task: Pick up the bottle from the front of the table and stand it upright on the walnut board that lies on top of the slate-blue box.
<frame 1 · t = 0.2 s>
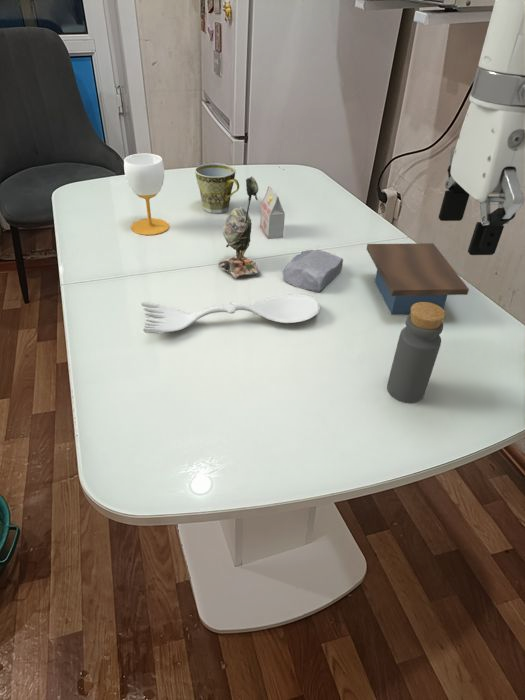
hand: (464, 235, 65), 26 cm above the table, tool pointing down, fingers open, 9 cm apart
bottle: (405, 391, 80), on the table
board: (413, 270, 98), resting on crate
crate: (406, 296, 102), on the table
cup: (150, 227, 123), on the table
spoon: (233, 321, 93), on the table
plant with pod: (238, 267, 109), on the table
ceramic cup: (220, 210, 132), on the table
milk carton: (271, 232, 123), on the table
stone block: (310, 276, 107), on the table
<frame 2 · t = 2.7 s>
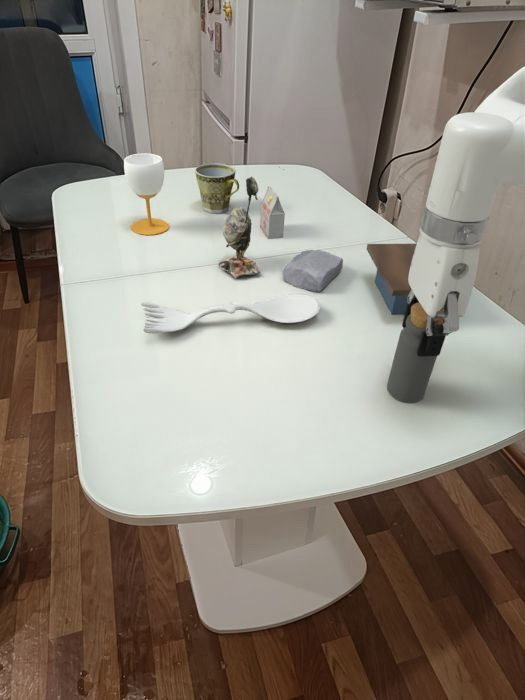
hand: (419, 339, 74), 10 cm above the table, tool pointing down, fingers closed on bottle, 5 cm apart
bottle: (405, 391, 80), on the table, touching gripper
everything else where it was.
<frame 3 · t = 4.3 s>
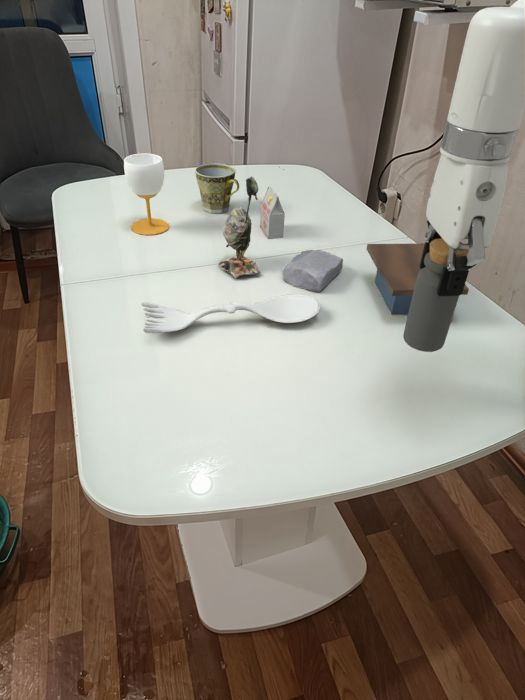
hand: (439, 280, 68), 20 cm above the table, tool pointing down, fingers closed on bottle, 5 cm apart
bottle: (423, 340, 74), point 10 cm above the table, touching gripper
everything else where it was.
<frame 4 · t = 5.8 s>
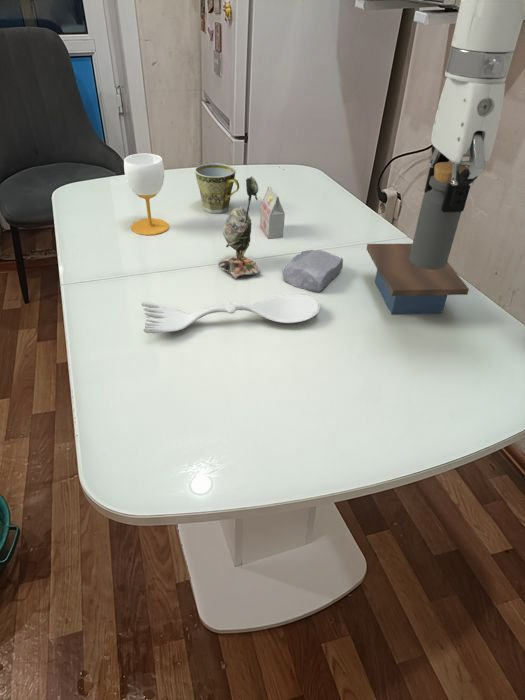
hand: (443, 201, 76), 25 cm above the table, tool pointing down, fingers closed on bottle, 5 cm apart
bottle: (427, 262, 82), point 15 cm above the table, touching gripper
everything else where it was.
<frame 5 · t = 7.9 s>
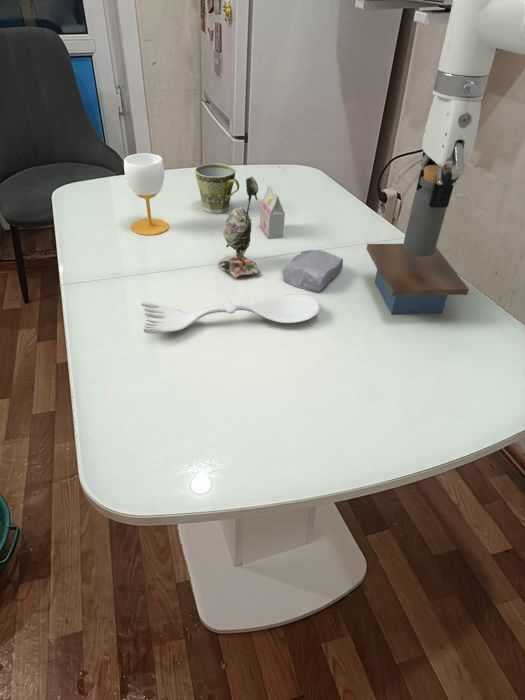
hand: (431, 198, 89), 20 cm above the table, tool pointing down, fingers closed on bottle, 5 cm apart
bottle: (418, 250, 96), point 10 cm above the table, touching gripper
everything else where it was.
when the fingers open (17 cm above the table, at t = 9.2 s): bottle stays where it is, resting on board.
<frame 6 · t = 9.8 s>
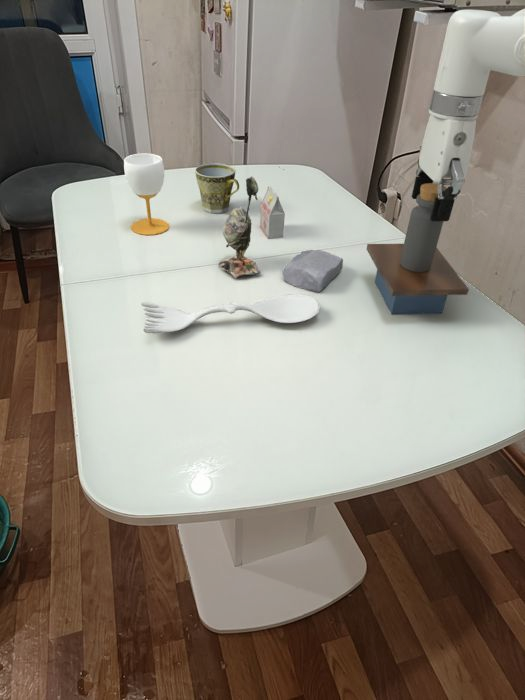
hand: (429, 209, 91), 18 cm above the table, tool pointing down, fingers open, 9 cm apart
bottle: (414, 265, 98), point 7 cm above the table, touching board
everything else where it was.
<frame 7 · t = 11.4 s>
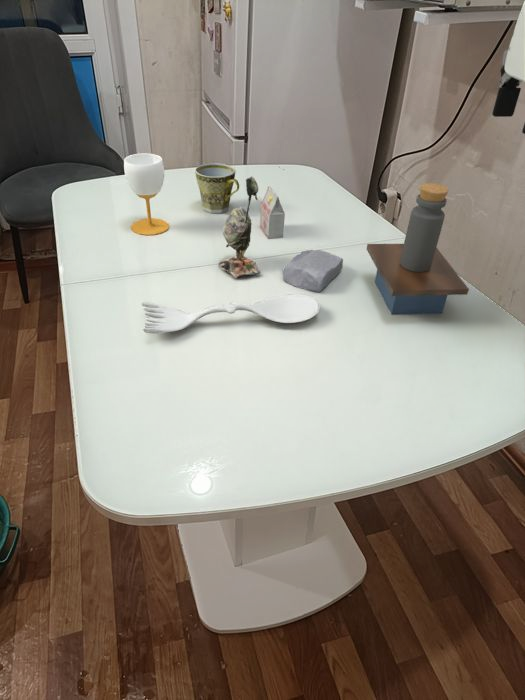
hand: (516, 124, 76), 34 cm above the table, tool pointing down, fingers open, 9 cm apart
nothing on the table moved.
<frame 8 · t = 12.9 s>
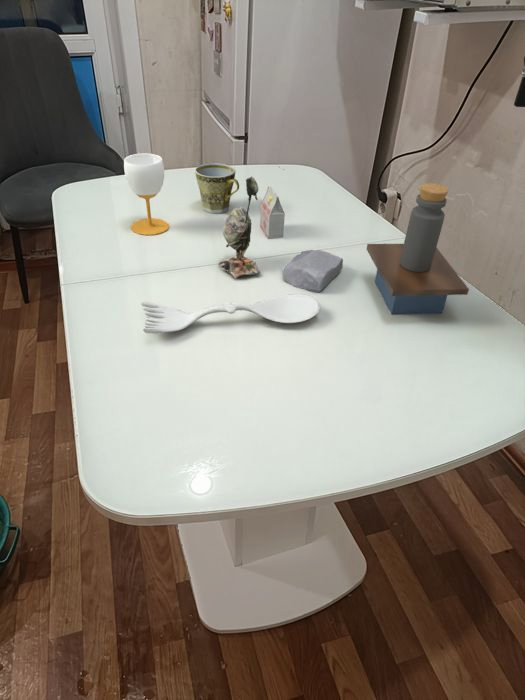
nothing on the table moved.
at the end: bottle inside the target area on the board (0.0 cm from its centre), point 1.0 cm above the board's base; bottle tilted 0°; the gripper is holding nothing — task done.
